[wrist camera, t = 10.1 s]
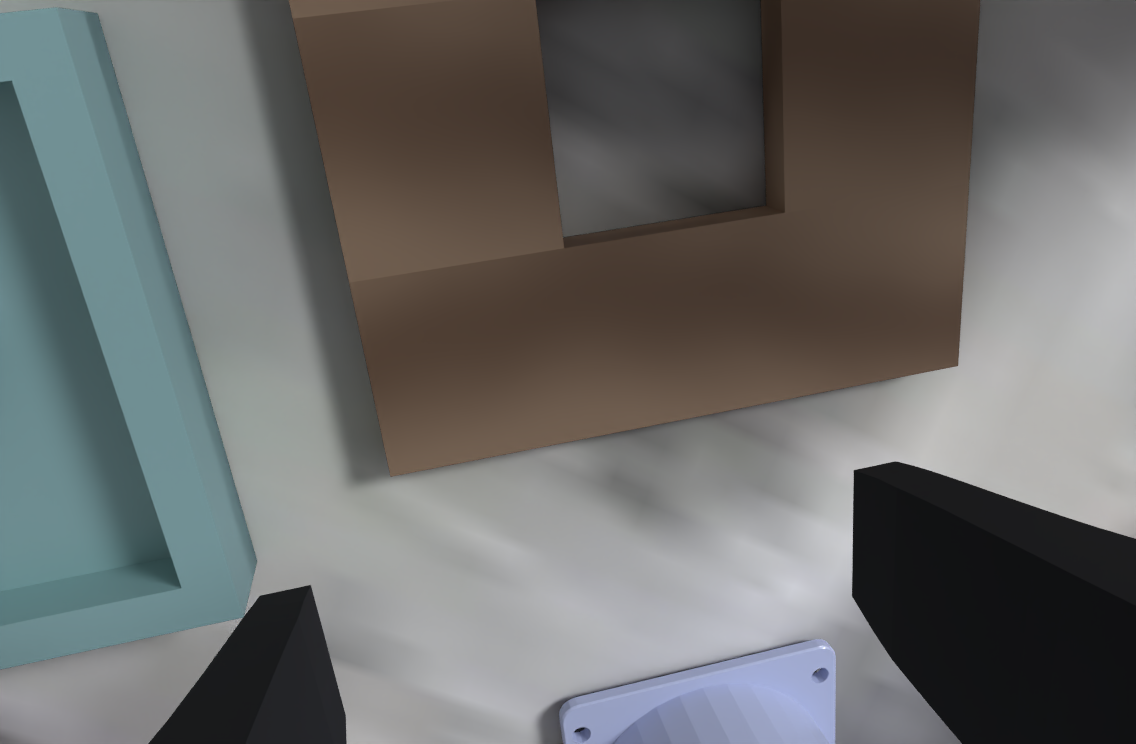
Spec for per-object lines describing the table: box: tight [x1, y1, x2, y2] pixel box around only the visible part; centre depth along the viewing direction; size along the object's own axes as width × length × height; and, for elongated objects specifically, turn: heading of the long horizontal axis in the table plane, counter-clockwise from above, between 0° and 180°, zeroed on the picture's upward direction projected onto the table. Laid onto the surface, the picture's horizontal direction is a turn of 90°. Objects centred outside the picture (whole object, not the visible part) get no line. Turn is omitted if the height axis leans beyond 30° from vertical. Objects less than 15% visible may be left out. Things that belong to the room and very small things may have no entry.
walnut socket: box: [289, 0, 980, 477], centre depth 18 cm, size 14×14×1 cm
